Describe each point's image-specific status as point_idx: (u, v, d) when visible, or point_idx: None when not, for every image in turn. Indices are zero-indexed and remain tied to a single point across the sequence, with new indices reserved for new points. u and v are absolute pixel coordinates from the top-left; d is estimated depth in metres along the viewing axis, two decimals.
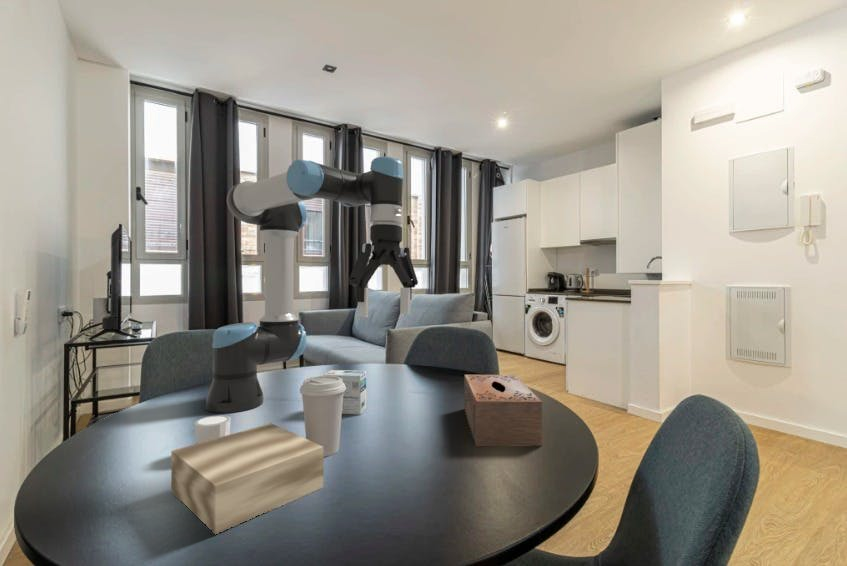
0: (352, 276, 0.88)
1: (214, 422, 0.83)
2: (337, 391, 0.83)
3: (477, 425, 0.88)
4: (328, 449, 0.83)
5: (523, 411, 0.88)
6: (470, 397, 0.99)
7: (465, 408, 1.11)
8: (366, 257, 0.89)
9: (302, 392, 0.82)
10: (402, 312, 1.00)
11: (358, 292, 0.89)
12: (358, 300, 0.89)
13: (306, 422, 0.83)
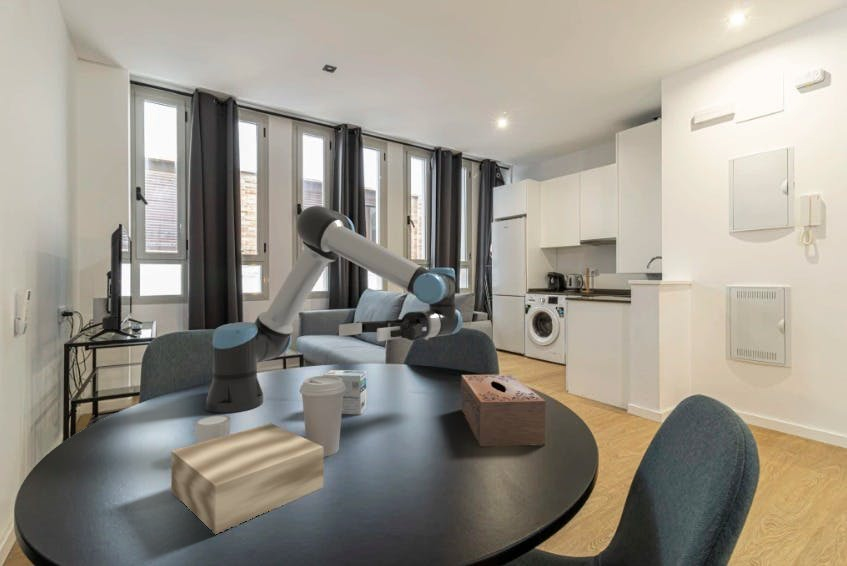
0: (415, 330, 0.93)
1: (214, 422, 0.83)
2: (337, 391, 0.83)
3: (482, 426, 0.88)
4: (328, 449, 0.83)
5: (527, 410, 0.89)
6: (471, 398, 0.99)
7: (463, 409, 1.10)
8: None
9: (302, 392, 0.82)
10: (342, 328, 0.97)
11: (400, 333, 0.92)
12: (395, 334, 0.90)
13: (306, 422, 0.83)
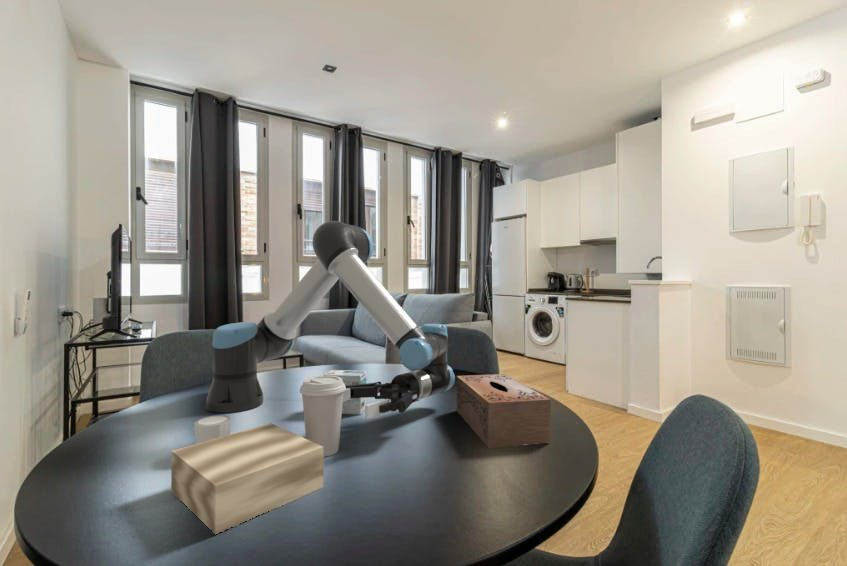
0: (405, 403, 0.90)
1: (214, 422, 0.83)
2: (337, 391, 0.83)
3: (490, 427, 0.87)
4: (328, 449, 0.83)
5: (533, 409, 0.89)
6: (473, 399, 0.98)
7: (459, 410, 1.09)
8: None
9: (302, 392, 0.82)
10: None
11: (389, 408, 0.88)
12: (383, 409, 0.87)
13: (306, 422, 0.83)
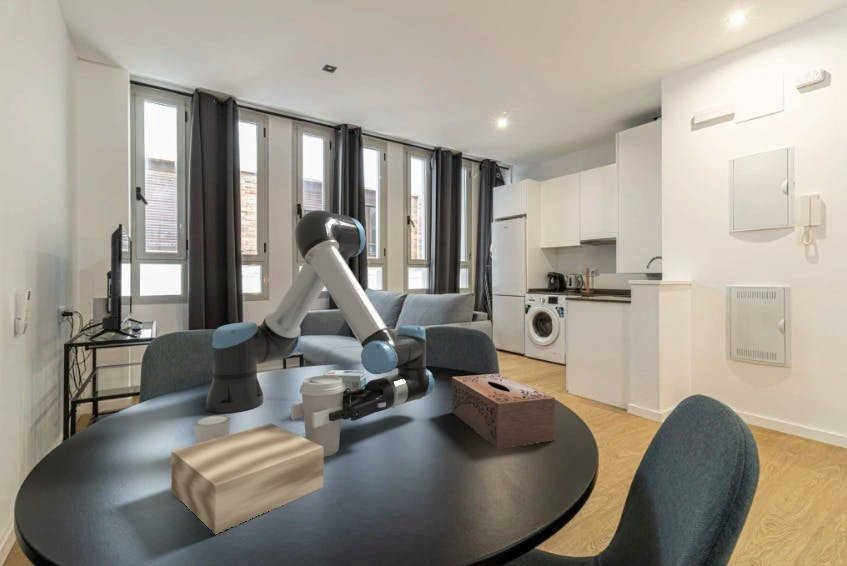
0: (359, 411, 0.84)
1: (214, 422, 0.83)
2: (337, 391, 0.83)
3: (499, 428, 0.87)
4: (328, 449, 0.83)
5: (539, 408, 0.90)
6: (475, 400, 0.97)
7: (456, 411, 1.08)
8: None
9: (302, 392, 0.83)
10: (294, 409, 0.84)
11: (340, 416, 0.83)
12: (333, 418, 0.81)
13: (306, 422, 0.83)
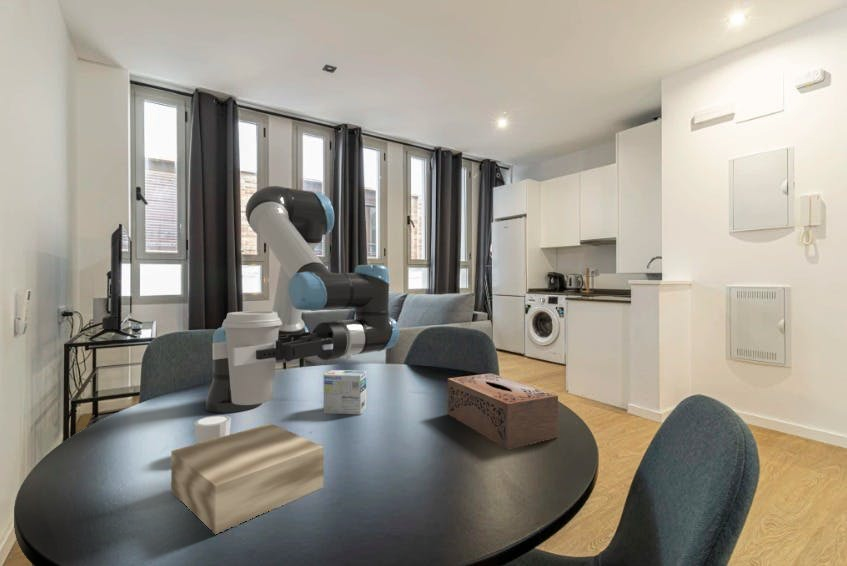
0: (295, 349, 0.68)
1: (214, 422, 0.83)
2: (267, 324, 0.67)
3: (509, 428, 0.87)
4: (256, 396, 0.67)
5: (544, 407, 0.91)
6: (479, 401, 0.96)
7: (453, 413, 1.07)
8: None
9: (223, 325, 0.67)
10: (216, 348, 0.69)
11: (271, 354, 0.67)
12: (261, 355, 0.65)
13: (229, 362, 0.67)
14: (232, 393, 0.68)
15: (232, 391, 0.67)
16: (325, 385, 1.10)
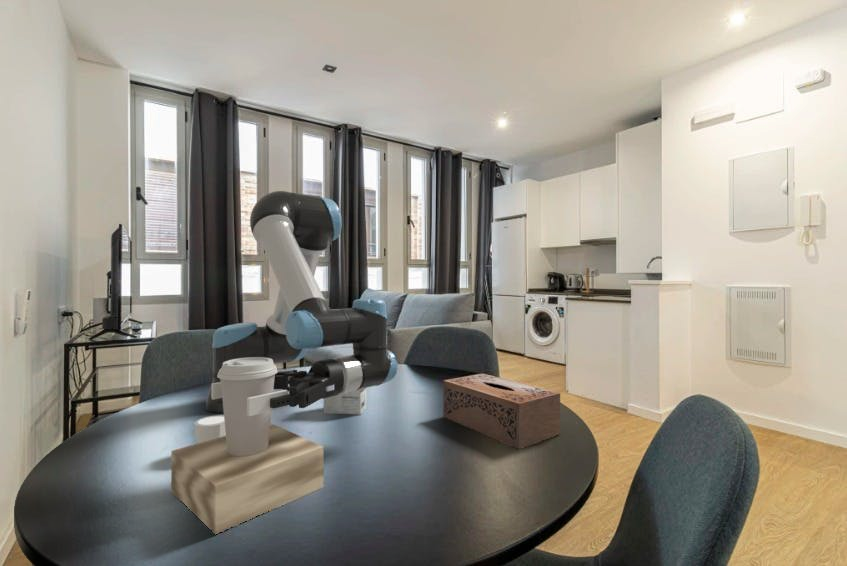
0: (308, 396, 0.68)
1: (214, 422, 0.83)
2: (262, 375, 0.67)
3: (520, 428, 0.87)
4: (251, 447, 0.67)
5: (549, 405, 0.93)
6: (483, 402, 0.95)
7: (450, 415, 1.05)
8: None
9: (218, 376, 0.66)
10: (215, 388, 0.71)
11: (285, 402, 0.66)
12: (275, 404, 0.64)
13: (224, 413, 0.67)
14: (227, 444, 0.67)
15: (227, 442, 0.67)
16: None
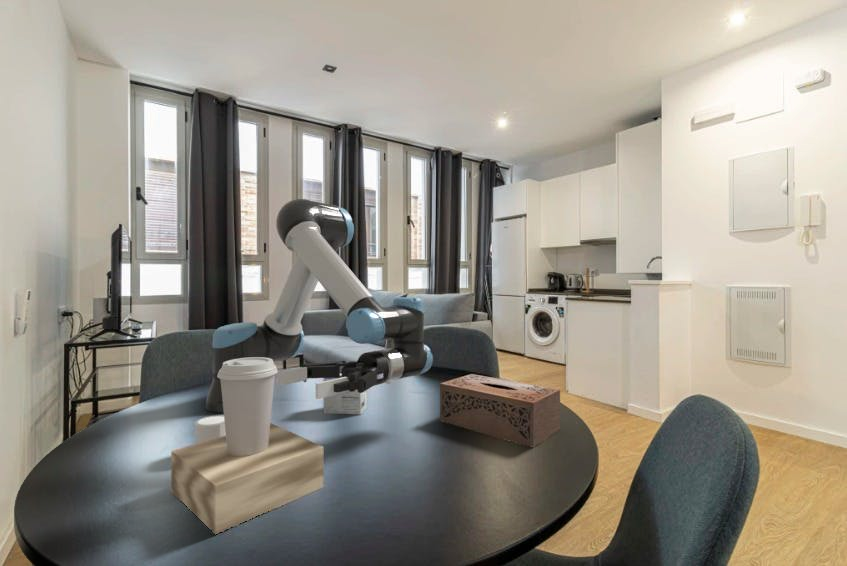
0: (365, 382, 0.77)
1: (214, 422, 0.83)
2: (262, 375, 0.67)
3: (534, 426, 0.88)
4: (251, 447, 0.67)
5: (552, 401, 0.95)
6: (490, 403, 0.94)
7: (449, 419, 1.02)
8: None
9: (218, 376, 0.67)
10: (280, 376, 0.81)
11: (346, 387, 0.75)
12: (338, 389, 0.74)
13: (224, 413, 0.67)
14: (227, 444, 0.67)
15: (227, 442, 0.67)
16: None
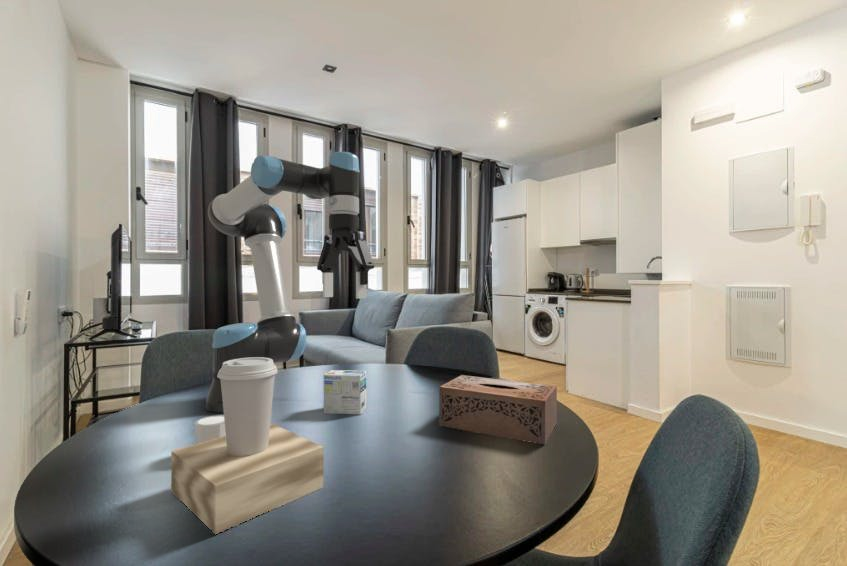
0: None
1: (214, 422, 0.83)
2: (262, 375, 0.67)
3: (545, 424, 0.89)
4: (251, 447, 0.67)
5: (553, 398, 0.98)
6: (497, 404, 0.94)
7: (450, 423, 0.99)
8: (323, 247, 1.07)
9: (218, 376, 0.67)
10: None
11: None
12: None
13: (224, 413, 0.67)
14: (227, 444, 0.67)
15: (227, 442, 0.67)
16: (325, 385, 1.10)
